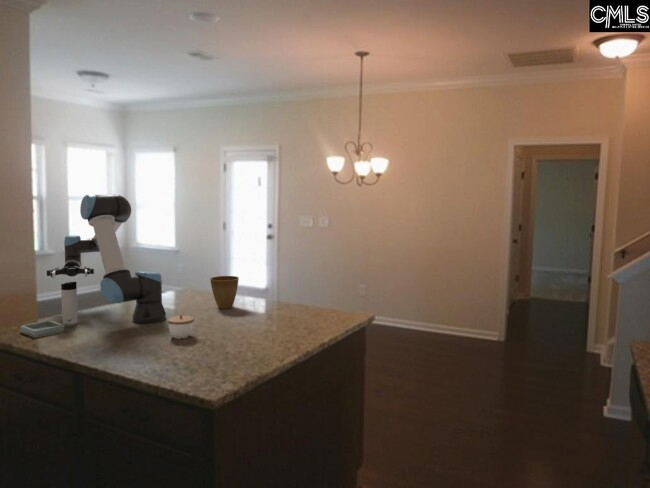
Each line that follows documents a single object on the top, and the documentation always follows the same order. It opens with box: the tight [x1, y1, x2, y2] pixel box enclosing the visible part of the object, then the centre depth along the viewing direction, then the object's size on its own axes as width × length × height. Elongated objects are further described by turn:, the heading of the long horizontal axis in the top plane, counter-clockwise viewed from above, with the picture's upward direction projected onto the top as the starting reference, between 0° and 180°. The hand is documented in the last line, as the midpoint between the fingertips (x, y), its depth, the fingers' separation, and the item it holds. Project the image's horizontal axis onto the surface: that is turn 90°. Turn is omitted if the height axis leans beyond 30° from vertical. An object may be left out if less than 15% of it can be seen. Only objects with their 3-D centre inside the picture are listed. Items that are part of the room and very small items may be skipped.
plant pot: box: [209, 275, 239, 310], centre depth 260 cm, size 15×15×16 cm
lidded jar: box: [167, 314, 195, 340], centre depth 206 cm, size 11×11×9 cm
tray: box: [20, 319, 66, 339], centre depth 210 cm, size 13×12×3 cm
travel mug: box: [60, 281, 79, 328], centre depth 221 cm, size 6×7×20 cm
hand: (69, 274), depth 229 cm, fingers open, 13 cm apart
